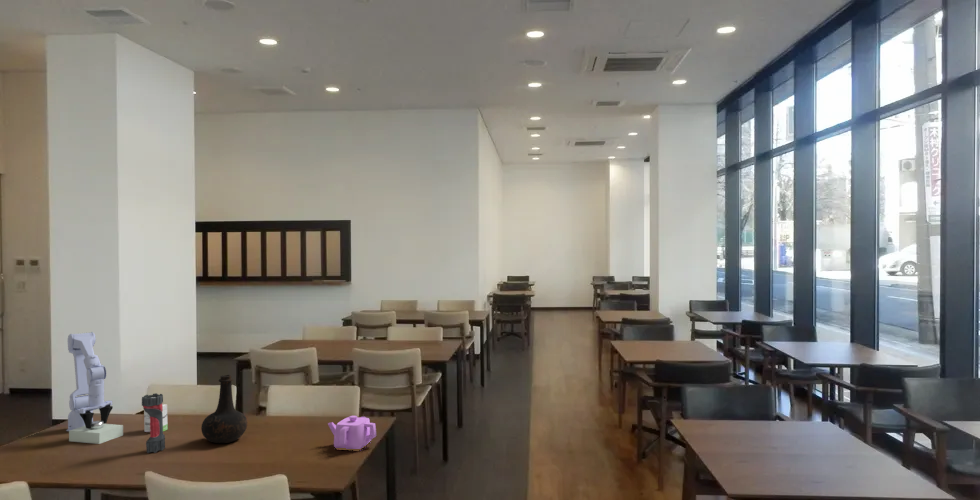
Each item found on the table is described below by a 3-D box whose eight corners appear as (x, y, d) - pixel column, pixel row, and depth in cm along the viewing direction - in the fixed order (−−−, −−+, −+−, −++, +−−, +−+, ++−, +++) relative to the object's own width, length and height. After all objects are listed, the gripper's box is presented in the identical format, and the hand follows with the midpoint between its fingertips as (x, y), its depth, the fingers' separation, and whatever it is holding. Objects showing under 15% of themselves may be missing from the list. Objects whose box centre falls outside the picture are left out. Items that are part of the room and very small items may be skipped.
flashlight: (139, 455, 238) (139, 398, 238) (145, 449, 245) (145, 393, 245) (161, 453, 240) (161, 396, 240) (166, 447, 247) (166, 392, 247)
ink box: (168, 429, 272) (168, 403, 272) (160, 432, 268) (160, 406, 268) (151, 428, 274) (151, 403, 274) (143, 431, 269) (143, 405, 269)
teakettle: (340, 455, 237) (340, 424, 237) (326, 444, 251) (326, 414, 251) (380, 447, 247) (380, 417, 247) (364, 437, 261) (364, 408, 261)
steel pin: (86, 438, 258) (86, 423, 258) (96, 434, 263) (96, 420, 263) (96, 439, 257) (96, 424, 257) (106, 435, 262) (106, 420, 262)
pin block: (69, 441, 256) (69, 430, 256) (93, 432, 268) (93, 422, 268) (99, 443, 253) (99, 433, 253) (123, 435, 264) (123, 425, 264)
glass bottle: (192, 443, 253) (192, 377, 253) (228, 432, 269) (228, 369, 269) (220, 449, 244) (220, 381, 245) (256, 437, 260) (256, 373, 260)
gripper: (89, 399, 252) (89, 431, 252) (117, 391, 266) (118, 421, 266) (75, 398, 254) (75, 430, 254) (105, 390, 268) (105, 420, 268)
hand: (96, 425), depth 260 cm, fingers open, 7 cm apart
